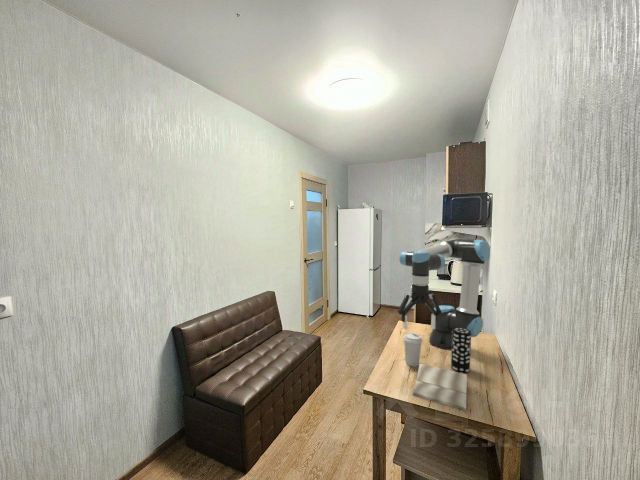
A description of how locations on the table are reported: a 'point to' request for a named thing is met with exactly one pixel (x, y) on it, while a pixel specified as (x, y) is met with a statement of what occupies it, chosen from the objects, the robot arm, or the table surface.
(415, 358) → the coffee cup
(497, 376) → the table surface
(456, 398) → the laid board
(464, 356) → the spotted tube
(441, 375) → the plank
